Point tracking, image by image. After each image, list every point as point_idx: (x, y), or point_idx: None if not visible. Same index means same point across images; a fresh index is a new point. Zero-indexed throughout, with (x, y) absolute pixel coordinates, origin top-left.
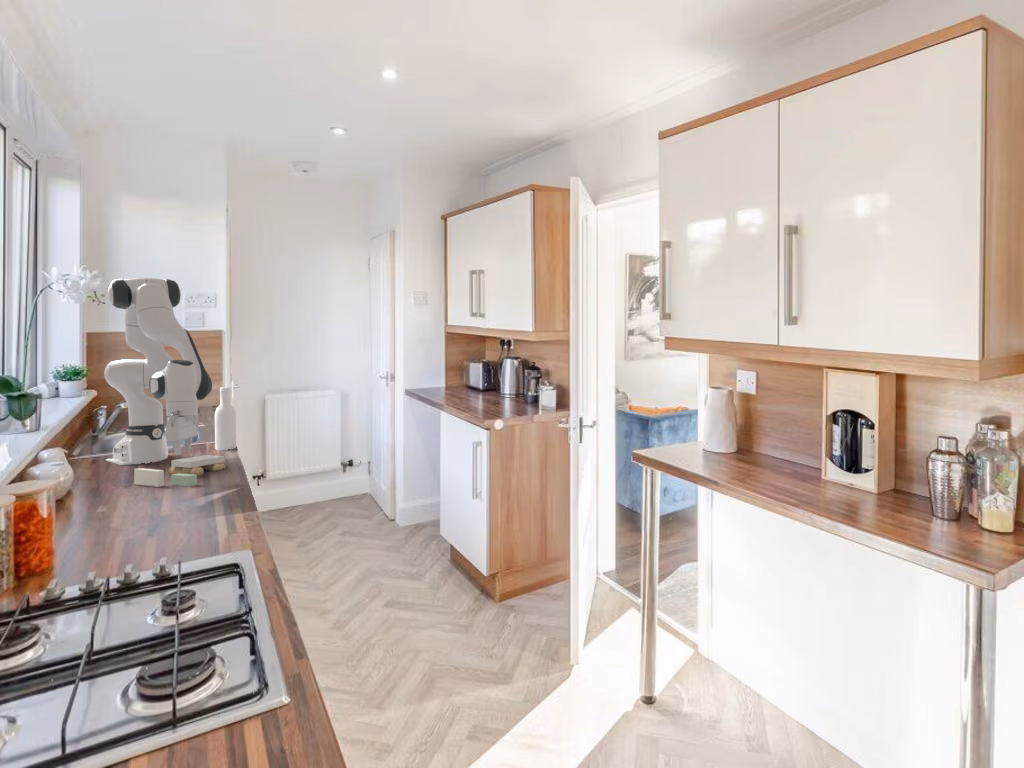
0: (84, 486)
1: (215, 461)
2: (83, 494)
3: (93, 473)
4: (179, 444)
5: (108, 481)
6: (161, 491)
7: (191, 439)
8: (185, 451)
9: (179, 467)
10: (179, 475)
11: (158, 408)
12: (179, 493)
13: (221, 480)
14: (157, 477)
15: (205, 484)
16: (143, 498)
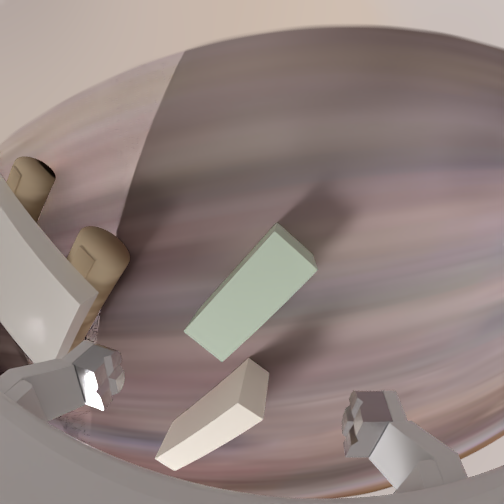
0: None
1: (8, 195)
2: (310, 490)
3: None
4: (456, 453)
5: None
6: (380, 343)
7: (17, 383)
8: (123, 372)
9: None
10: (264, 322)
11: None
12: (454, 265)
13: (183, 123)
14: (263, 400)
15: (276, 181)
16: (469, 360)
